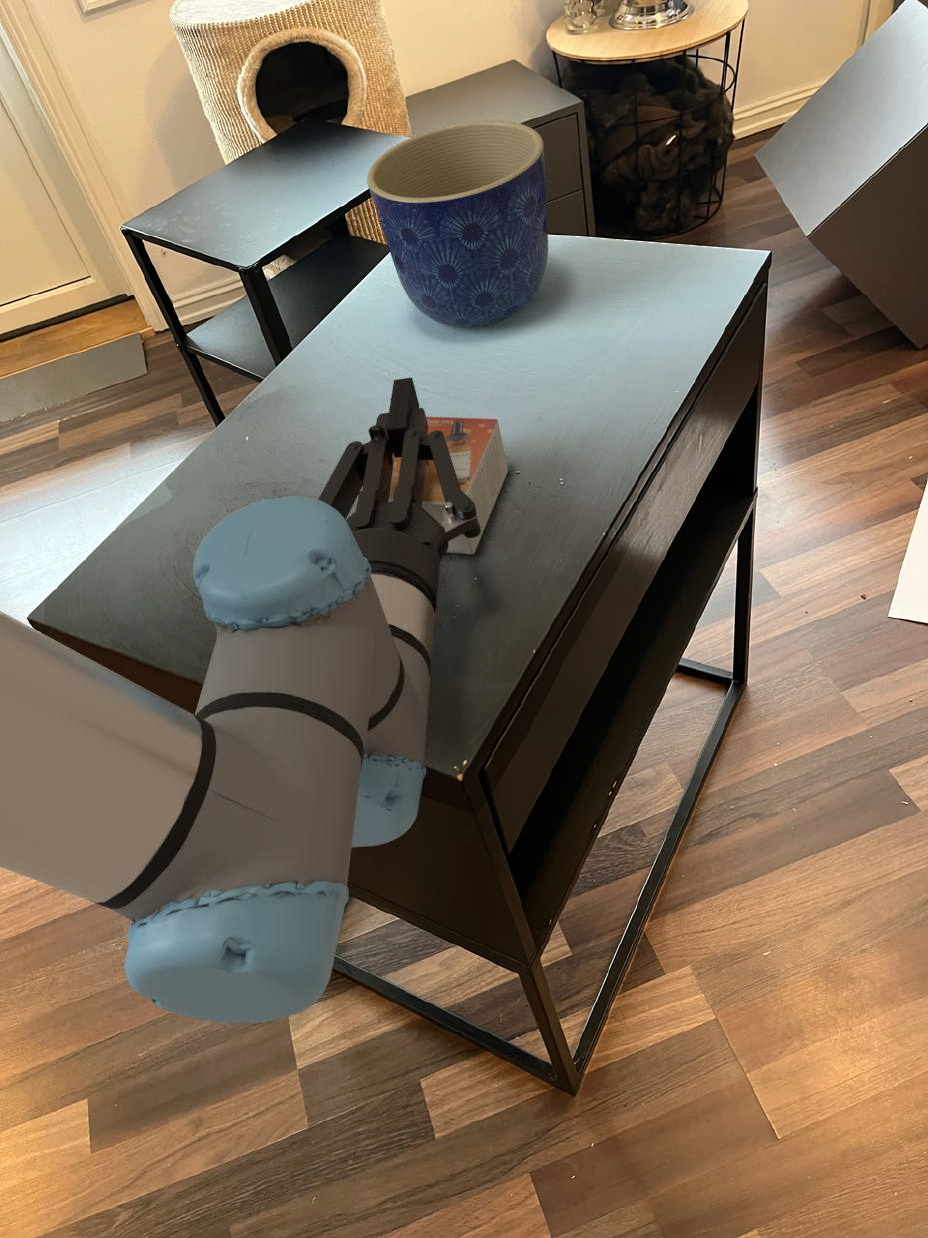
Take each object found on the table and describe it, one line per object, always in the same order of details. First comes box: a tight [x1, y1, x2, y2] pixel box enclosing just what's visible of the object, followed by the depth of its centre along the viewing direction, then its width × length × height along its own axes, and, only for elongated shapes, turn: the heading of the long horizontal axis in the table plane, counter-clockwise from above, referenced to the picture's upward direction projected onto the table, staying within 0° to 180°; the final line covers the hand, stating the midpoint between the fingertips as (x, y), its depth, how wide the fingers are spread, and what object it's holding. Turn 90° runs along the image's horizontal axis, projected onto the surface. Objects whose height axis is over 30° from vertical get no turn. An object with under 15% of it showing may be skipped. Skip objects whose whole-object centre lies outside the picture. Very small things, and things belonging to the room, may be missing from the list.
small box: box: [389, 416, 509, 555], centre depth 75 cm, size 8×6×10 cm
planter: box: [366, 119, 549, 328], centre depth 93 cm, size 17×17×15 cm
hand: (406, 392), depth 75 cm, fingers closed
